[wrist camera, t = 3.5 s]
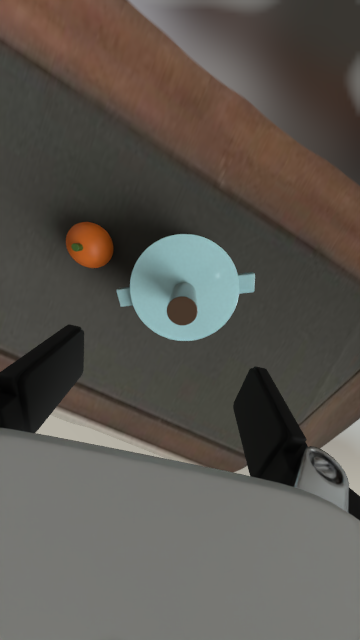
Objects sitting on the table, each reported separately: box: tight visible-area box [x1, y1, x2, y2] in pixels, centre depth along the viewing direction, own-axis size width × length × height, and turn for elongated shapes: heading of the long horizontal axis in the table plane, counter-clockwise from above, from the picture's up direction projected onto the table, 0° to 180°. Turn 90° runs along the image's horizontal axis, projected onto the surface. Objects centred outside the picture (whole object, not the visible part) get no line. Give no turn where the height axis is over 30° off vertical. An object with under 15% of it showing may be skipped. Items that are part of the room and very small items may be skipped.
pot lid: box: [130, 234, 239, 341], centre depth 21 cm, size 14×14×7 cm
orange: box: [66, 222, 113, 268], centre depth 28 cm, size 6×6×8 cm
